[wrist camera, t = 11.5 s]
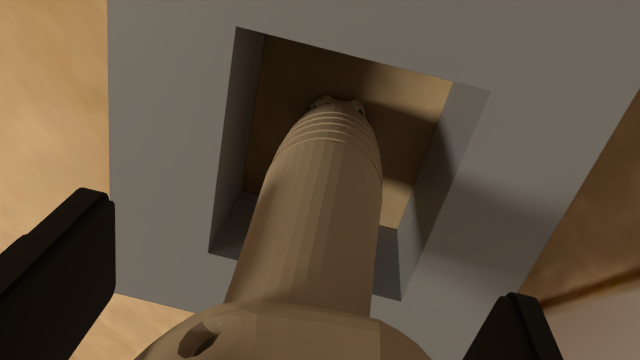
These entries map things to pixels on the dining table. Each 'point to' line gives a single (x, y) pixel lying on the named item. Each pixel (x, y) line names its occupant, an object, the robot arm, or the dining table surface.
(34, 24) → the dining table surface
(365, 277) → the handle
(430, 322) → the well block
